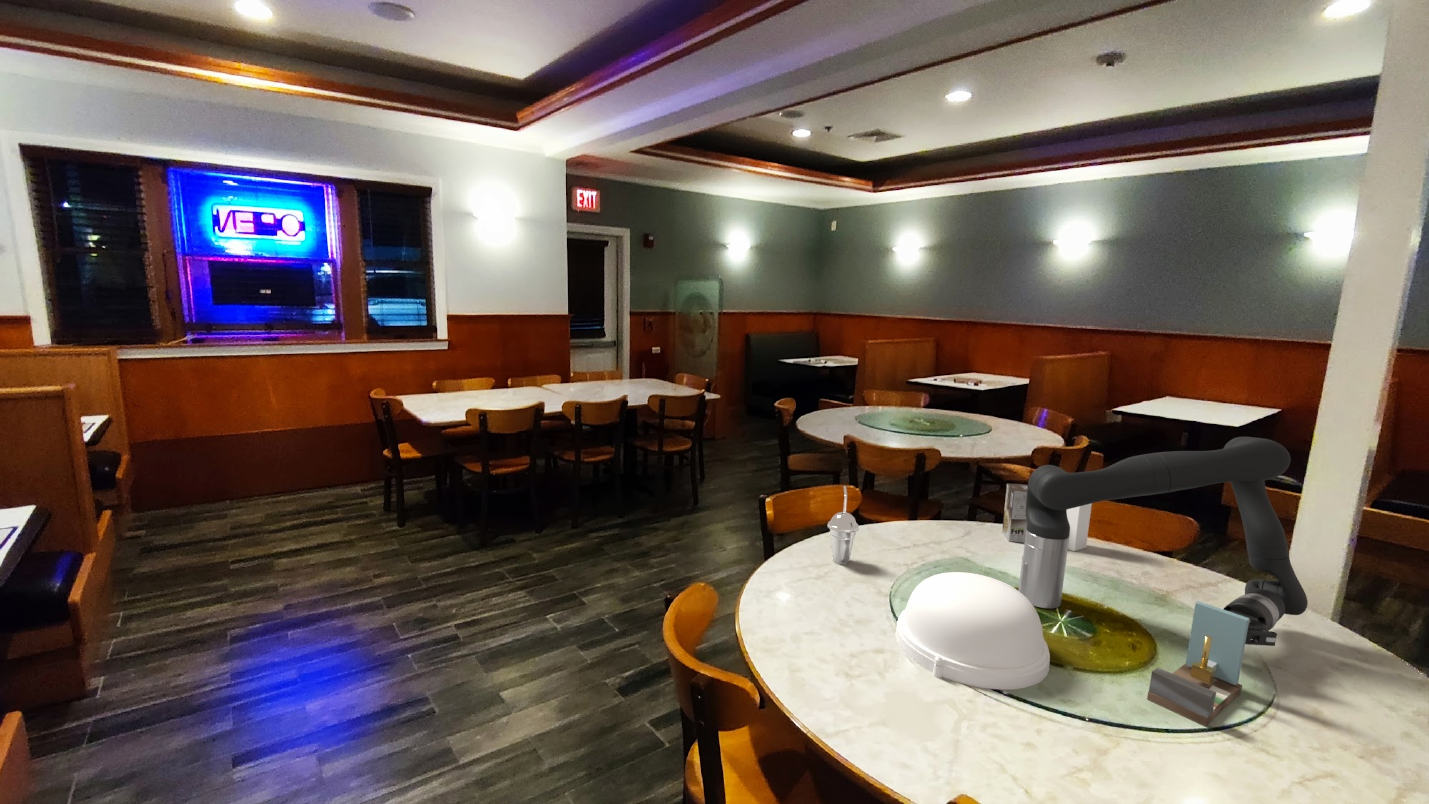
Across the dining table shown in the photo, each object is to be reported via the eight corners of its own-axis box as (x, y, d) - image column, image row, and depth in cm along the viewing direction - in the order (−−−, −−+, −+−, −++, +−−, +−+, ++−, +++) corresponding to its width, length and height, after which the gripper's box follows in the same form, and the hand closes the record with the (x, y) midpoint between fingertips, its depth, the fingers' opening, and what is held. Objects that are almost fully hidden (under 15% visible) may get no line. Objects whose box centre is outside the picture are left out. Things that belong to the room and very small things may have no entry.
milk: (1086, 548, 192) (1096, 477, 188) (1074, 551, 189) (1084, 479, 185) (1066, 541, 197) (1076, 472, 194) (1054, 544, 194) (1063, 474, 191)
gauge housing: (1185, 669, 128) (1189, 644, 127) (1241, 692, 121) (1245, 665, 120) (1147, 699, 118) (1151, 671, 117) (1205, 726, 111) (1210, 697, 110)
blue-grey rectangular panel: (1188, 662, 127) (1198, 601, 125) (1238, 682, 121) (1249, 618, 119) (1179, 669, 125) (1189, 606, 122) (1229, 690, 118) (1241, 624, 116)
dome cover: (934, 599, 156) (940, 544, 154) (1069, 647, 136) (1078, 585, 133) (866, 647, 133) (871, 583, 131) (1016, 714, 113) (1025, 640, 110)
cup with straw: (820, 561, 175) (824, 491, 172) (833, 551, 183) (838, 484, 180) (849, 570, 171) (854, 497, 167) (862, 559, 178) (867, 490, 175)
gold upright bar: (1194, 672, 122) (1201, 631, 121) (1213, 680, 120) (1220, 638, 118) (1190, 676, 121) (1196, 634, 120) (1209, 684, 119) (1216, 641, 117)
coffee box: (1031, 543, 194) (1037, 492, 192) (1008, 541, 195) (1014, 490, 193) (1023, 533, 203) (1028, 484, 200) (1001, 531, 204) (1006, 482, 202)
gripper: (1215, 586, 139) (1184, 606, 129) (1295, 611, 128) (1268, 635, 118) (1210, 618, 140) (1178, 641, 130) (1288, 646, 129) (1261, 672, 119)
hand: (1221, 638), depth 124 cm, fingers closed
